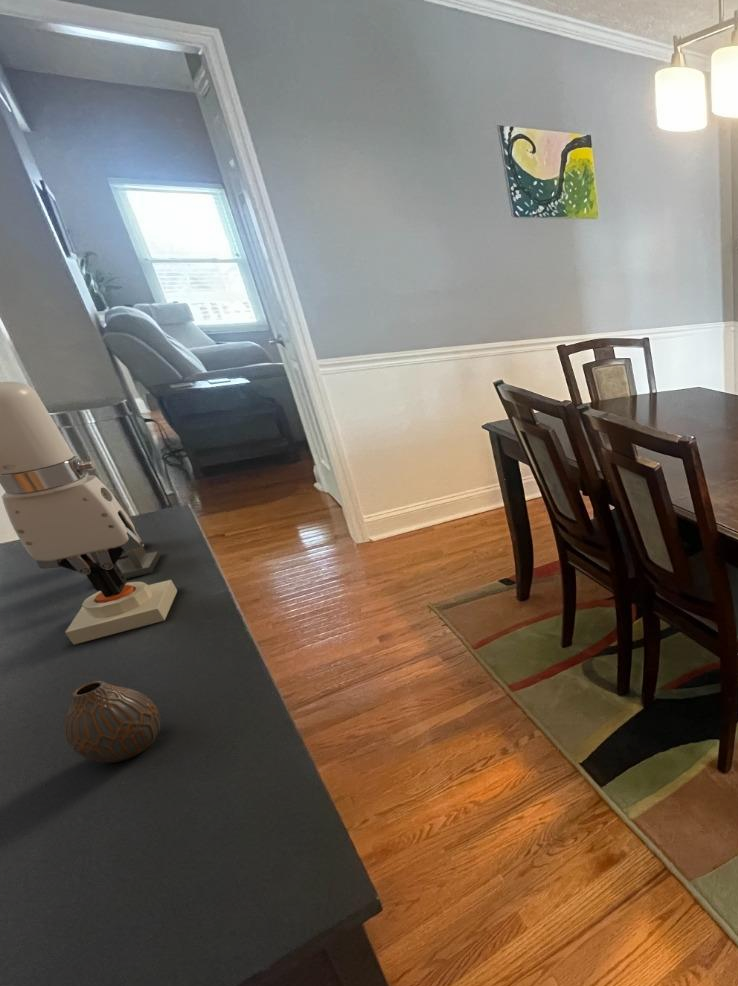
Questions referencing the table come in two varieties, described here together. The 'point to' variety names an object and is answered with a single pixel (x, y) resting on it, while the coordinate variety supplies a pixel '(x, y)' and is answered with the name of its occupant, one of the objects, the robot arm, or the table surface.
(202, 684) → the table surface
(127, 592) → the button
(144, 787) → the table surface
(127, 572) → the switch bracket
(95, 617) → the beige button base
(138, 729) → the vase
